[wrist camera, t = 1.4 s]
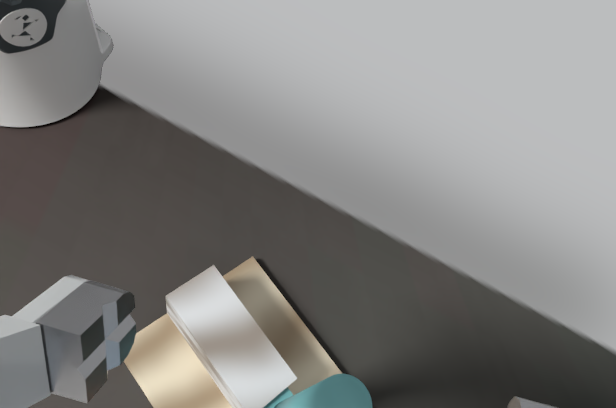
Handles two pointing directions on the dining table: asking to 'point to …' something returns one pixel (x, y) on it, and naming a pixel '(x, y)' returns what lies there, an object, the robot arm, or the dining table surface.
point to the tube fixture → (226, 345)
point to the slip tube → (326, 395)
